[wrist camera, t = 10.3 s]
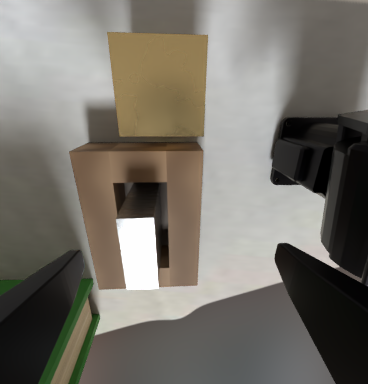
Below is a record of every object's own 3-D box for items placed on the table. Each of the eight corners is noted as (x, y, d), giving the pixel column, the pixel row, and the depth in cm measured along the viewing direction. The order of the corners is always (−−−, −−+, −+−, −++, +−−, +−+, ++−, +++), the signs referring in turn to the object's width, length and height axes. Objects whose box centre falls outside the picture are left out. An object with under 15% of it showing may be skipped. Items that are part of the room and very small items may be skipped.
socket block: (197, 142, 19) (203, 151, 16) (193, 258, 25) (197, 285, 21) (89, 142, 19) (69, 151, 15) (110, 261, 24) (99, 289, 20)
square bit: (193, 61, 17) (208, 34, 10) (192, 125, 19) (203, 136, 12) (132, 60, 16) (107, 32, 10) (137, 125, 18) (119, 136, 12)
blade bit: (159, 181, 20) (153, 217, 14) (162, 236, 23) (158, 288, 16) (133, 182, 20) (115, 218, 13) (139, 237, 22) (126, 290, 16)
